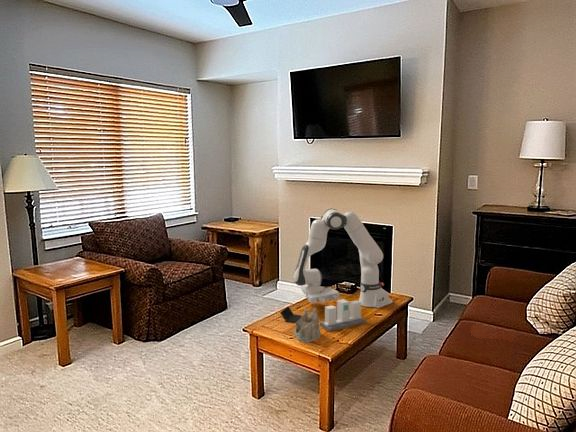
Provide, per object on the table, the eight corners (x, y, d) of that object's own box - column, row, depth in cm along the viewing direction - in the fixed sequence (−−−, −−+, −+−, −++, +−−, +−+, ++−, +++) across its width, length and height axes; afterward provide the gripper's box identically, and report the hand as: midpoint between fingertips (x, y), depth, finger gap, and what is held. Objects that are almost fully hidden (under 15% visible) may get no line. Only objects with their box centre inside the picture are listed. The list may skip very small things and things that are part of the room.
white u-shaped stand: (355, 316, 256) (355, 298, 254) (366, 322, 247) (366, 303, 245) (319, 325, 244) (319, 305, 243) (329, 331, 236) (329, 311, 234)
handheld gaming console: (298, 321, 247) (288, 306, 248) (288, 327, 248) (278, 313, 250) (303, 316, 258) (293, 302, 259) (293, 322, 259) (284, 308, 261)
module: (343, 317, 249) (343, 299, 247) (349, 320, 244) (349, 301, 242) (337, 318, 247) (337, 300, 245) (342, 322, 242) (342, 303, 240)
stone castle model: (302, 326, 243) (302, 301, 239) (326, 335, 232) (326, 309, 229) (284, 337, 231) (283, 311, 228) (308, 347, 221) (308, 320, 217)
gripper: (303, 291, 263) (315, 297, 250) (331, 286, 272) (344, 292, 260) (303, 301, 263) (315, 308, 251) (331, 295, 273) (344, 302, 261)
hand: (330, 300), depth 256 cm, fingers open, 6 cm apart
